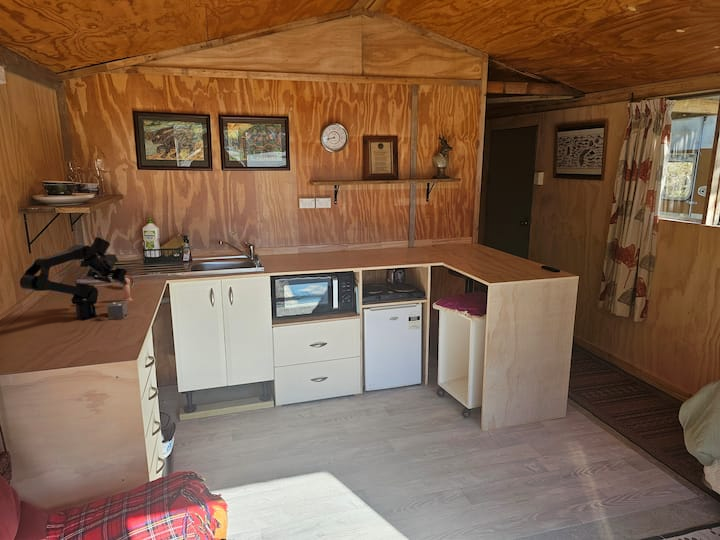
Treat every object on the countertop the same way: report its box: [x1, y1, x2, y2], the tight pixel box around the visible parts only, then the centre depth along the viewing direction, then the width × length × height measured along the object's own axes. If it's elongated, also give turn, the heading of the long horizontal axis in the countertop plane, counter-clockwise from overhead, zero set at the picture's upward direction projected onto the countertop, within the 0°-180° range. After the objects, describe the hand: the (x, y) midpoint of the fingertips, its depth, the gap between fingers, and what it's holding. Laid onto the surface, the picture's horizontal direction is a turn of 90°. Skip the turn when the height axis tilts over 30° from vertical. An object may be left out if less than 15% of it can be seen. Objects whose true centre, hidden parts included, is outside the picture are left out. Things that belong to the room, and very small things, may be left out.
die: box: [106, 301, 128, 321], centre depth 219 cm, size 6×6×6 cm
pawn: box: [122, 278, 133, 302], centre depth 240 cm, size 4×4×11 cm
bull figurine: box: [119, 274, 135, 289], centre depth 270 cm, size 4×13×8 cm, turn 51°
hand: (118, 282), depth 235 cm, fingers open, 9 cm apart
